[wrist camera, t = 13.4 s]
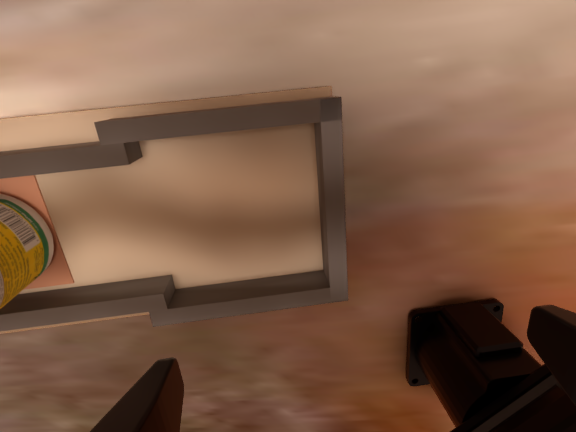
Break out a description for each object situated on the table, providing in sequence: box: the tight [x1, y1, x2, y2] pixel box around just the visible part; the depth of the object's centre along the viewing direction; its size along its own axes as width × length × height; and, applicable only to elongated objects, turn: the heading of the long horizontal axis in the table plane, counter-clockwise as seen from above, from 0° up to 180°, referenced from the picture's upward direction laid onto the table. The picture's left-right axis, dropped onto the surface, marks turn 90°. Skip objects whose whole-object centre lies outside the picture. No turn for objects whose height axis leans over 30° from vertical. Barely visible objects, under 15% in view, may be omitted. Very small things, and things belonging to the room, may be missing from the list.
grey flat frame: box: [0, 86, 348, 334], centre depth 18 cm, size 12×22×3 cm, turn 95°
